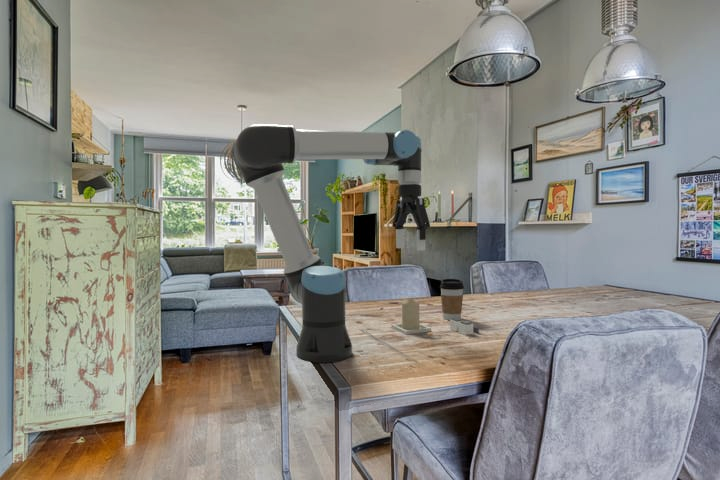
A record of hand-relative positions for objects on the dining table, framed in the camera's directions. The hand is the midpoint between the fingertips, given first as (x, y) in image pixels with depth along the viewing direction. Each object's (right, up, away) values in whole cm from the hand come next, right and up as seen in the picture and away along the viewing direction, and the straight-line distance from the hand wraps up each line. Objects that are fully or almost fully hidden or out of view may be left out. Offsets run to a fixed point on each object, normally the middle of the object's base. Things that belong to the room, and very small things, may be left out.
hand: (410, 249), depth 135 cm
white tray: (+7, -27, -6) cm, 28 cm away
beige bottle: (0, -26, -4) cm, 26 cm away
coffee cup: (+16, -26, +10) cm, 32 cm away
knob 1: (+14, -25, -5) cm, 30 cm away
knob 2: (+16, -26, -10) cm, 32 cm away
